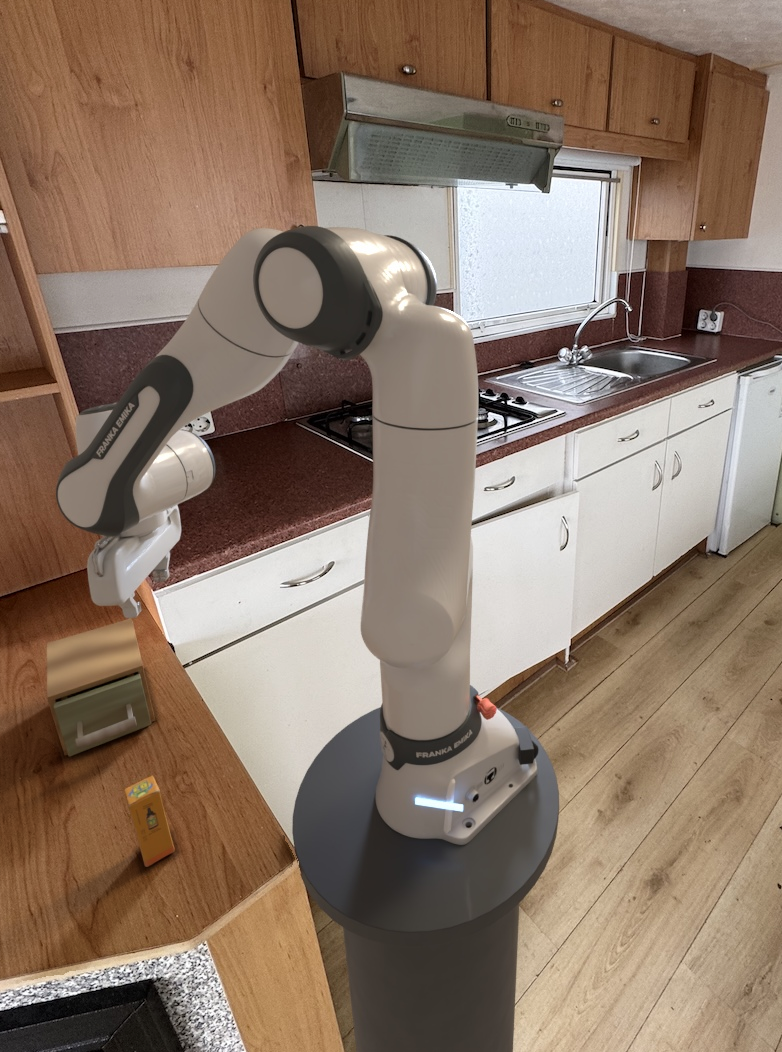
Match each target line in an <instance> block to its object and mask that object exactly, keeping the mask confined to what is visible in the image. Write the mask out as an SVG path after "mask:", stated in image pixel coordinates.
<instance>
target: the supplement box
mask: <svg viewBox="0 0 782 1052" xmlns="http://www.w3.org/2000/svg"><path fill="white" fill-rule="evenodd" d="M156 781H157V780H156V779H155V777H154V775H150V776H148V777H146V778H144V779H142V780H140V781H138V782H136V783H134V784H132V785H130V786H128V787H125V788H124V796H125V799H126V805H127V808H128V811H129V814H130V817H131V818H130V819H131V821H132V825H133V828H134V831H135V835H136V839H137V842H138V845H139V849H140V854H141V857H142V860H143V865H144V867H146V868H148V867H150V866H153V864H155V863H157V862H158V861H160V860H162V859H164V858H165V857H167V856H169V855H171V854H173V853H174V852H175V850H176V849H175V845H174V841H173V838H172V834H171V831H170V827H169V823H168V819H167V816H166V812H165V806H164V803H163V799H162V794H161V789H160V787H159V785H158V784H157V782H156Z"/></svg>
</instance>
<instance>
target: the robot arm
mask: <svg viewBox="0 0 782 1052" xmlns="http://www.w3.org/2000/svg"><path fill="white" fill-rule="evenodd" d="M437 292H438V282H437V276H436V272H435V269H434V266H433V265H432V262H431V260H429V258H428V256H427V255H426V254H425V253H424V252H423V251H422V250H421V248H419V247H417V246H416V245H415V244H413V243H411V242H410V241H407V240H406V239H404V238H402V237H399V236H396V235H391V234H386V235H384V234H380V233H375V232H371V231H369V230H366V229H363V228H359V227H344V226H332V227H323V226H317V225H304V226H299V227H295V228H290V229H287V230H285V231H283V230H280V229H275V228H272V227H271V228H270V227H259V228H254V229H250V230H249V231H247V232H245V233H244V234H243V235H241V236H240V238H239V239H238V240H237V241H236V242H235V243H234V244H233V245H232V246H231V248H230V249H229V250H228V251H227V253H226V254H225V255H224V257H223V258H222V259H221V261H220V262H219V264H218V265H217V266H216V268H215V269H214V271H213V272H212V274H211V275H210V276H209V279H208V280H207V281H206V284H205V285H204V288H203V289H202V291H201V293H200V294H199V297H198V299H197V301H196V302H195V305H194V307H193V308H192V310H191V311H190V313H189V315H187V317H186V319H185V320H184V322H183V323H182V324H181V326H180V327H179V328H178V330H177V331H176V332H175V334H174V335H173V337H171V339H169V341H168V343H167V344H166V345H165V346H163V348H162V349H161V350H160V351H159V352H158V353H157V354H156V356H155V357H153V358H152V359H151V360H150V361H149V362H148V363H147V364H146V365H145V366H144V367H143V369H142V370H141V371H140V372H139V373H138V374H137V375H136V376H135V377H134V379H133V380H132V382H131V383H130V384H129V386H128V387H127V388H126V390H125V391H124V392H123V394H122V396H121V397H120V399H119V400H118V401H115V402H111V403H105V404H101V405H97V406H92V407H88V408H86V409H84V410H82V411H81V412H80V413H79V414H77V416H76V417H75V418H76V419H75V431H74V432H75V443H76V449H77V456H74V457H73V458H71V459H69V460H68V461H66V463H65V464H64V466H63V468H62V470H61V472H60V473H59V476H58V479H57V483H56V487H55V500H56V503H57V506H58V508H59V509H58V510H59V511H60V513H61V514H62V516H63V517H64V518H65V519H66V521H67V522H69V524H71V525H72V526H73V527H76V528H78V529H80V530H82V531H85V532H87V533H90V534H95V535H99V536H101V537H102V538H100V539H98V540H97V541H96V542H95V543H94V544H93V545H94V549H93V550H92V551H91V552H90V554H89V556H88V558H87V563H86V569H87V579H88V580H87V581H88V586H89V594H90V598H91V601H92V603H93V604H95V605H96V606H98V607H114V606H118V607H120V608H121V610H122V614H123V615H122V616H123V617H124V618H126V619H131V618H132V619H136V618H137V617H138V616H139V615H140V613H141V612H142V610H143V609H142V607H141V606H142V605H141V601H136V600H135V599H134V597H135V595H136V594H135V591H136V590H137V589H138V588H139V587H140V585H141V584H142V583H143V582H145V580H146V579H147V577H149V575H150V574H152V577H153V582H155V583H165V582H166V581H167V580H168V578H169V577H170V571H169V565H170V558H171V550H172V549H173V548H174V547H175V545H176V544H177V543H178V542H179V541H180V540H181V535H182V523H181V515H180V509H179V506H178V505H179V504H182V503H184V502H185V501H188V500H190V499H192V498H194V497H196V496H199V495H200V494H202V493H203V492H204V491H207V490H208V489H209V488H210V487H211V486H212V485H213V482H214V480H215V476H216V462H215V457H214V455H213V452H212V450H211V448H210V446H209V445H208V443H207V442H206V441H205V440H204V439H203V438H202V437H201V436H199V435H197V434H196V433H194V432H193V431H190V430H187V429H182V428H184V427H185V426H187V425H189V424H190V423H192V422H193V421H195V420H197V419H198V418H200V417H202V416H204V415H206V414H209V413H210V412H213V411H215V410H218V409H219V408H222V407H224V406H227V405H230V404H232V403H234V402H237V401H239V400H241V399H244V398H247V397H249V396H251V395H253V394H255V393H257V392H259V391H260V390H262V389H263V388H264V387H266V385H268V384H269V383H270V382H271V381H272V380H273V379H274V378H275V377H276V376H277V375H278V374H279V373H280V372H281V371H282V370H283V368H284V367H285V365H286V364H287V363H288V362H289V360H290V358H291V357H292V355H293V354H294V352H295V350H296V348H297V346H298V345H299V344H302V345H305V346H308V347H312V348H315V349H318V350H320V351H323V352H325V353H326V354H329V355H331V356H332V357H334V358H337V359H340V360H342V361H349V360H351V359H354V358H356V357H358V356H360V357H362V359H363V360H364V362H365V363H366V364H367V366H368V369H369V372H370V375H371V384H372V406H371V407H372V409H371V410H372V411H371V412H372V492H371V503H370V510H369V521H368V527H367V539H366V550H365V551H366V552H365V562H364V563H365V564H364V579H363V595H362V602H361V603H362V604H361V612H360V634H361V638H362V641H363V643H364V645H365V647H366V648H367V649H368V651H369V652H370V653H371V655H373V656H374V657H375V658H376V659H378V660H379V670H380V671H379V672H380V684H381V685H380V688H381V701H382V703H381V705H380V707H381V709H380V741H381V747H382V751H383V763H382V769H381V774H380V778H379V781H378V784H377V788H376V805H377V809H378V811H379V814H380V816H381V817H382V819H383V820H384V821H385V823H386V824H387V825H388V826H390V827H391V828H392V829H393V830H395V831H396V832H398V833H400V834H403V835H405V836H408V837H412V838H419V839H434V838H436V839H443V840H446V841H448V842H451V843H454V844H458V845H465V844H467V843H468V842H470V841H471V840H472V839H473V838H474V837H475V836H476V835H477V834H478V833H479V832H480V831H481V830H482V829H483V828H484V827H485V826H486V825H487V824H488V823H489V822H490V821H491V820H492V819H493V818H494V817H495V816H496V815H497V814H498V813H499V812H500V811H501V810H502V809H503V808H504V807H505V806H506V805H507V804H508V803H509V802H510V801H511V800H512V799H513V798H514V797H515V796H516V795H517V794H518V793H519V792H520V791H521V790H522V789H523V788H524V787H525V786H526V785H527V784H528V783H529V782H530V781H531V780H532V779H533V778H534V777H535V776H536V775H537V765H536V760H535V758H536V757H537V755H538V751H539V748H538V746H537V745H536V744H535V743H534V742H533V741H532V740H531V736H530V732H529V730H530V728H529V726H525V727H519V728H515V729H514V728H513V726H512V725H511V723H510V722H509V721H508V719H507V718H506V717H505V716H504V715H503V714H502V713H501V712H500V711H499V710H498V709H497V708H498V707H497V706H496V705H495V704H494V703H492V702H491V701H490V699H489V698H487V697H484V698H482V697H480V696H479V692H478V690H477V689H476V688H475V686H473V685H471V641H472V640H471V638H472V637H471V636H472V613H473V612H472V610H473V609H472V608H473V579H474V578H473V577H474V575H473V574H474V545H473V539H472V525H473V523H472V522H473V511H474V510H473V509H474V497H475V487H476V486H475V485H476V484H475V483H476V464H477V444H478V425H479V375H478V365H477V354H476V353H477V352H476V347H475V342H474V341H475V340H474V336H473V332H472V329H471V327H470V326H469V324H468V323H467V322H466V320H464V318H462V316H460V315H458V314H457V313H455V312H454V311H451V310H449V309H447V308H445V307H441V306H437V305H434V304H435V302H436V298H437ZM496 707H497V708H496ZM467 826H471V828H467Z"/></svg>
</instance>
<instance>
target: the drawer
mask: <svg viewBox="0 0 782 1052" xmlns="http://www.w3.org/2000/svg"><path fill="white" fill-rule="evenodd" d="M54 710H55V713H56V717H57V720H58V723H59V726H60V730H61V733H62V736H63V740H64V743H65V746H66V750H67V753H68V755H67V756H68V757H72V756H74V755H77V754H80V753H83V752H85V751H88V750H90V749H92V748H95V747H98V746H100V745H103V744H106V743H109V742H111V741H113V740H115V739H118V738H120V737H124V736H126V735H128V734H131V733H133V732H136V731H138V730H142V729H144V728H146V727H149V726H150V725H151V726H152V722H151V720H150V716H149V711H148V707H147V703H146V698H145V694H144V690H143V686H142V681H141V677H140V674H138V675H135V673H132V674H129V675H126V676H123V677H120V678H117V679H114V680H111V681H109V682H106V683H103V684H100V685H97V686H94V687H91V688H88V689H85V690H82V691H79V692H76V693H73V694H70V695H67V696H65V697H62V698H61V701H59V702H56V703H54Z"/></svg>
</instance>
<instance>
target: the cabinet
mask: <svg viewBox="0 0 782 1052" xmlns="http://www.w3.org/2000/svg"><path fill="white" fill-rule="evenodd" d="M132 673H135V675H138V674H140V677H141V681H142V686H143V690H144V694H145V698H146V703H147V707H148V711H149V716H150V720H151V723H153V722H155V721H156V717H155V713H154V709H153V704H152V699H151V695H150V691H149V686H148V682H147V677H146V674H145V673H146V672H145V669H144V664H143V660H142V655H141V651H140V648H139V643H138V639H137V635H136V630H135V626H134V622H133V618H126V619H125V620H121V621H117V622H114V623H110V624H107V625H104V626H101V627H100V626H99V627H97V628H94V629H90V630H87V631H84V632H80V633H77V634H73V635H69V636H66V637H62V638H60V639H56V640H53V641H49V642H46V700H47V702H48V706H49V709H50V713H51V715H52V718H53V722H54V725H55V729H56V732H57V735H58V739H59V742H60V746H61V749H62V751H63V755H64V756H68V753H67V750H66V746H65V743H64V740H63V736H62V733H61V730H60V726H59V723H58V720H57V717H56V713H55V710H54V703H56V702H59V701H61V698H62V697H65V696H67V695H70V694H73V693H76V692H79V691H82V690H85V689H88V688H91V687H94V686H97V685H100V684H103V683H106V682H109V681H111V680H114V679H117V678H120V677H123V676H126V675H129V674H132Z"/></svg>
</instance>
